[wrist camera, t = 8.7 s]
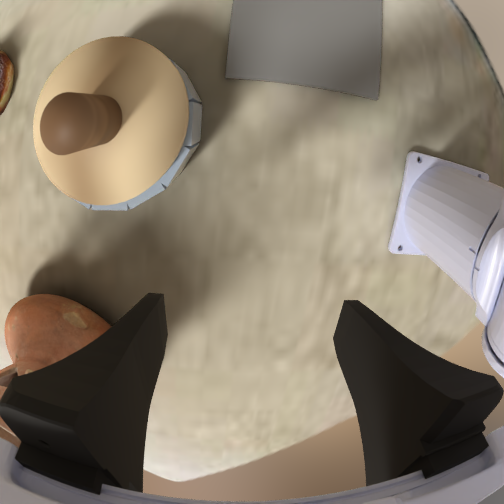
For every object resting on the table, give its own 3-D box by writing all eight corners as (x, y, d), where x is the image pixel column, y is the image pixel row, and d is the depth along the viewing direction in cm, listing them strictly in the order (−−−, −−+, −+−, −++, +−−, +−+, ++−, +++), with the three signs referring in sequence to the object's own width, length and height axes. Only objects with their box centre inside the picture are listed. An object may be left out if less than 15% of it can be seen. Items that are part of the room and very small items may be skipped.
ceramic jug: (35, 237, 20) (-76, 346, 7) (178, 327, 24) (143, 489, 11) (18, 351, 26) (-31, 437, 13) (117, 411, 30) (90, 509, 17)
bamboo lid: (202, 40, 12) (188, 11, 8) (179, 207, 15) (160, 240, 11) (52, 49, 11) (5, 39, 7) (42, 195, 14) (-3, 221, 10)
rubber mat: (378, -17, 13) (381, -19, 12) (375, 100, 17) (378, 100, 16) (239, -44, 12) (239, -47, 11) (225, 78, 16) (225, 77, 16)
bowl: (206, 53, 15) (199, 37, 12) (198, 193, 19) (189, 212, 16) (75, 66, 14) (44, 59, 11) (74, 193, 18) (45, 210, 15)
